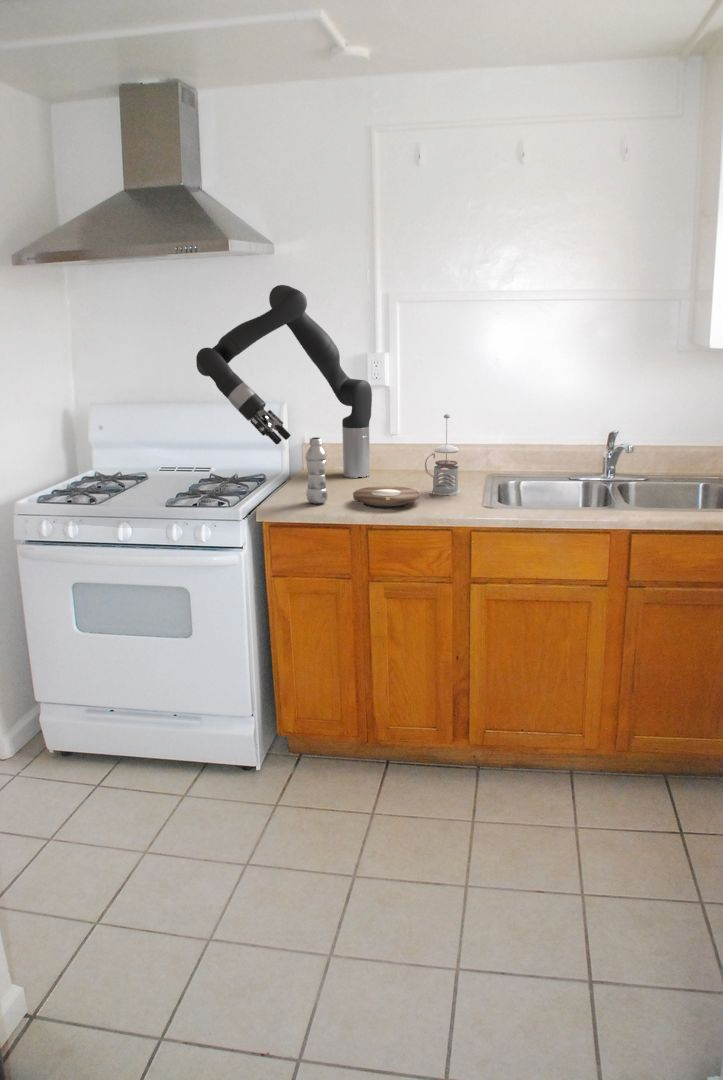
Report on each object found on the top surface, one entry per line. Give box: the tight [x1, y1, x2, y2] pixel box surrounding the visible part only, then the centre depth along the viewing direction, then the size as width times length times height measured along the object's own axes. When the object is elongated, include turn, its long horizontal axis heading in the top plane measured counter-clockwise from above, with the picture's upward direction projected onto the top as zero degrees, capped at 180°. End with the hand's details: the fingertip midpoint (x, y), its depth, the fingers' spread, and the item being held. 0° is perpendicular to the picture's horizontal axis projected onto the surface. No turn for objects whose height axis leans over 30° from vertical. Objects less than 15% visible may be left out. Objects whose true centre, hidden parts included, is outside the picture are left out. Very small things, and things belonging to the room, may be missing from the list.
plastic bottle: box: [305, 436, 328, 505], centre depth 268 cm, size 6×7×20 cm
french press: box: [424, 413, 461, 496], centre depth 280 cm, size 10×12×25 cm
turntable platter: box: [352, 485, 420, 505], centre depth 269 cm, size 20×20×1 cm
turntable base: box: [362, 503, 410, 510], centre depth 269 cm, size 14×14×2 cm
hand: (284, 440), depth 268 cm, fingers open, 8 cm apart
